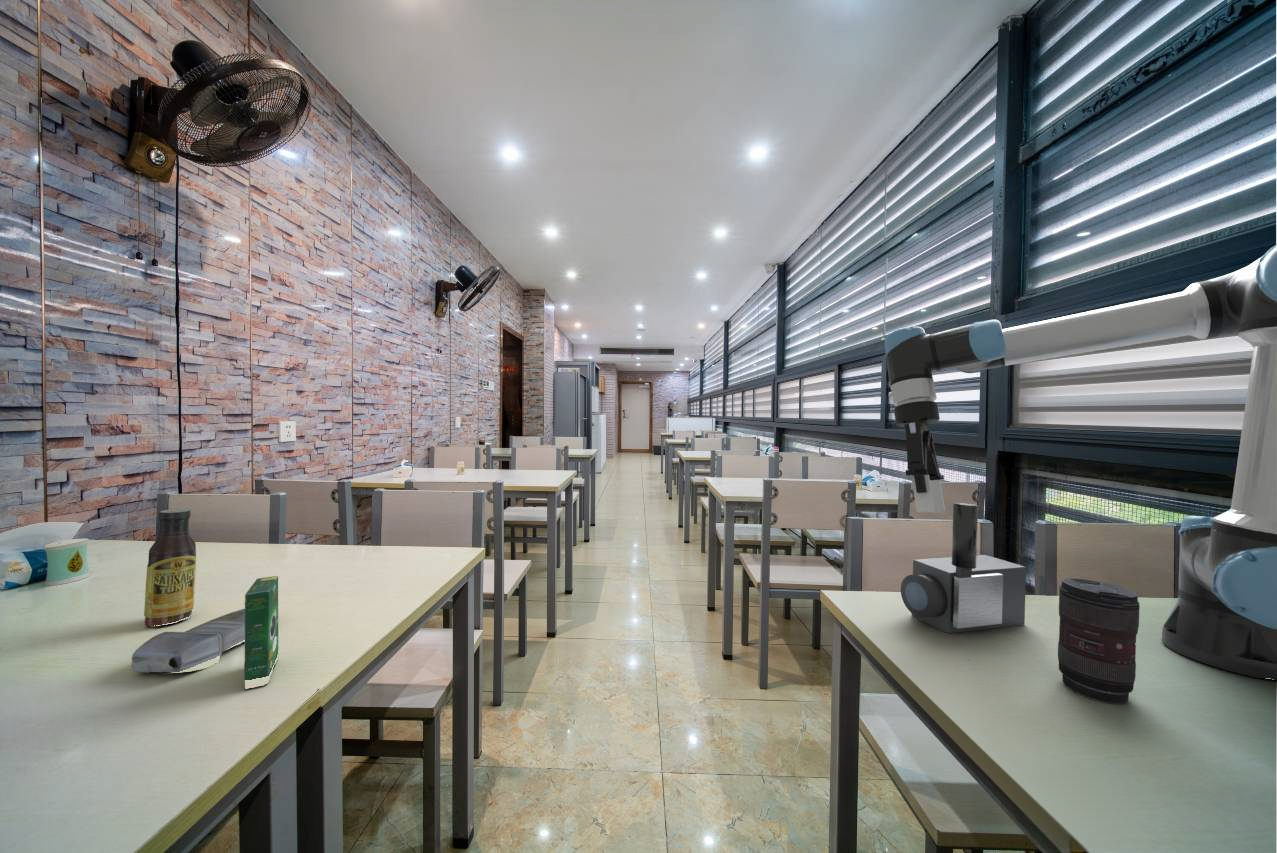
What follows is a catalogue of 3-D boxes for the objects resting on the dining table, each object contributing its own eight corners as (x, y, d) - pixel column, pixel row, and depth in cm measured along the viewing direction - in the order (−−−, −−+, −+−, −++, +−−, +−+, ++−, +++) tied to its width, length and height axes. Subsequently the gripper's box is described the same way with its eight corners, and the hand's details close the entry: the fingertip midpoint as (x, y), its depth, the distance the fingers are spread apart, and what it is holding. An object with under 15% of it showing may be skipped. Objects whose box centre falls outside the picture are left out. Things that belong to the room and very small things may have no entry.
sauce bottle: (149, 632, 78) (150, 515, 78) (139, 623, 81) (139, 511, 81) (201, 618, 84) (201, 509, 83) (189, 610, 87) (190, 505, 87)
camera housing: (983, 607, 95) (985, 554, 95) (1025, 624, 87) (1027, 567, 87) (898, 616, 90) (899, 560, 90) (934, 635, 82) (936, 574, 82)
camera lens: (1154, 711, 61) (1157, 599, 61) (1082, 703, 63) (1086, 594, 62) (1105, 678, 69) (1108, 579, 69) (1043, 671, 71) (1046, 574, 70)
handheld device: (299, 620, 84) (299, 595, 84) (187, 684, 64) (187, 651, 64) (248, 618, 84) (248, 593, 84) (121, 681, 64) (121, 648, 64)
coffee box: (255, 663, 69) (255, 576, 69) (279, 659, 70) (280, 573, 70) (242, 691, 62) (242, 594, 62) (269, 685, 63) (269, 591, 63)
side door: (989, 618, 86) (992, 501, 86) (1009, 626, 83) (1012, 505, 82) (945, 623, 84) (948, 502, 84) (963, 632, 80) (966, 506, 80)
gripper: (906, 418, 103) (921, 513, 99) (878, 395, 85) (895, 512, 80) (945, 412, 99) (963, 512, 94) (925, 386, 80) (946, 510, 75)
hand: (931, 512), depth 87 cm, fingers open, 13 cm apart
